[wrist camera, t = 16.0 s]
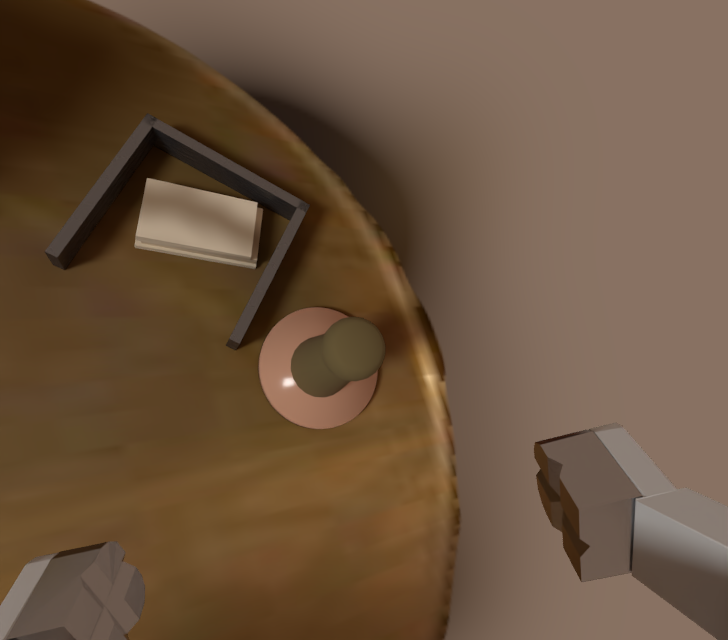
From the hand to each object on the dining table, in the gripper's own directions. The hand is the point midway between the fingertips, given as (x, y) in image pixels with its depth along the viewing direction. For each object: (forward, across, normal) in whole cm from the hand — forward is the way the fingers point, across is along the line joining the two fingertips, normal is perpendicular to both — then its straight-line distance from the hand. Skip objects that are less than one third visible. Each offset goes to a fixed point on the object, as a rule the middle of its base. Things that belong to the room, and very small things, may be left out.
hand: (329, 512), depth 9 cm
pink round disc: (+34, +5, +18) cm, 39 cm away
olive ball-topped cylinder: (+34, +5, +17) cm, 38 cm away
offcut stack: (+40, +13, +3) cm, 43 cm away
